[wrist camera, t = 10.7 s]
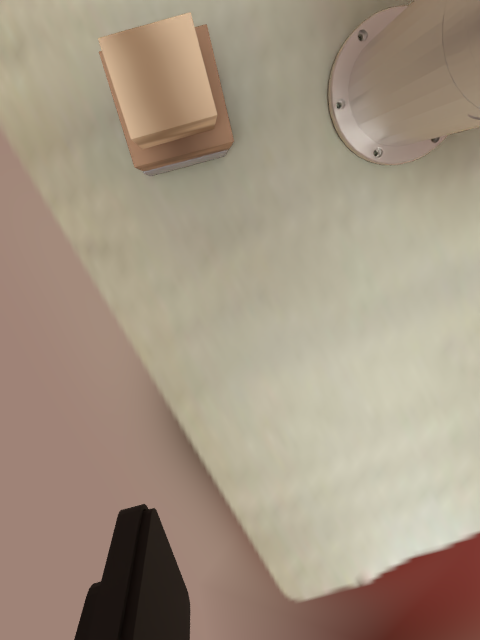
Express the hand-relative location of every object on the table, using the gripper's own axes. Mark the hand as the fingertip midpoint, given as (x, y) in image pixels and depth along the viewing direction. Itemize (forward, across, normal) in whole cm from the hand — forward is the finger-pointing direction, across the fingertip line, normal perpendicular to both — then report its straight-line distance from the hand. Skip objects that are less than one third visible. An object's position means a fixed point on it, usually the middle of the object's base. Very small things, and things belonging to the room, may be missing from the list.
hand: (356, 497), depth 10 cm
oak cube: (+22, +2, -14) cm, 26 cm away
